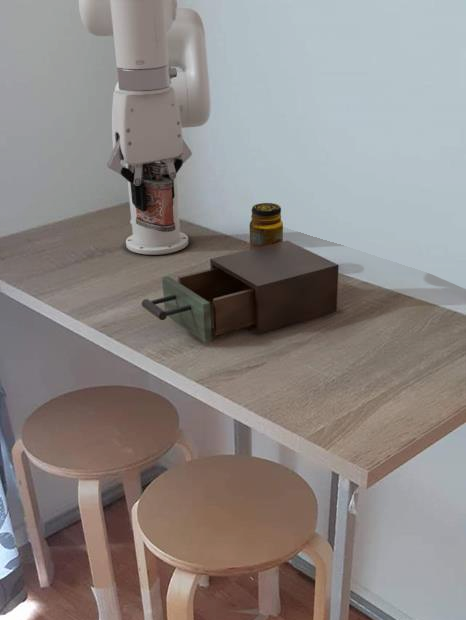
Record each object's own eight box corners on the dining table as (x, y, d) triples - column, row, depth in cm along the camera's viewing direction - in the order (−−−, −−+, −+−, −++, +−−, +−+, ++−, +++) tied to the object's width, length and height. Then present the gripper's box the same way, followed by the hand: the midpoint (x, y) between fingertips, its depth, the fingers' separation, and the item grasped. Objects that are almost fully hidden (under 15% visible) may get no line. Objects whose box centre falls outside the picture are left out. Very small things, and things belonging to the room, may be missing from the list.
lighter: (131, 223, 134) (125, 159, 128) (147, 218, 136) (141, 155, 130) (164, 233, 129) (159, 167, 123) (180, 228, 131) (176, 163, 125)
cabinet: (258, 334, 131) (257, 286, 126) (211, 304, 141) (209, 258, 136) (336, 311, 137) (338, 264, 133) (286, 284, 148) (287, 240, 143)
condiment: (292, 272, 152) (293, 207, 145) (254, 283, 148) (253, 216, 142) (269, 261, 157) (269, 198, 150) (232, 271, 154) (230, 206, 147)
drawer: (172, 352, 124) (169, 313, 121) (133, 322, 134) (129, 285, 130) (282, 320, 133) (283, 283, 129) (239, 294, 142) (238, 258, 139)
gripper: (182, 70, 126) (189, 192, 137) (80, 83, 119) (96, 210, 130) (206, 76, 121) (211, 203, 131) (101, 90, 114) (115, 222, 124)
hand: (153, 205), depth 130 cm, fingers closed on lighter, 4 cm apart
